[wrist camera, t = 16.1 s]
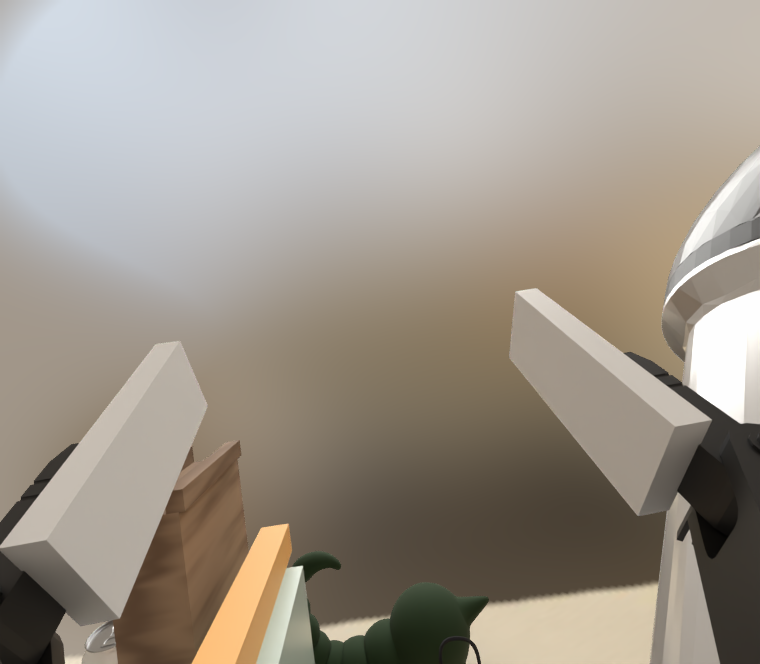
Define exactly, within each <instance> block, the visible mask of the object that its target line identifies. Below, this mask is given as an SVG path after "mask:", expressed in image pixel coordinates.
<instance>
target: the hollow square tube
mask: <svg viewBox="0 0 760 664" xmlns="http://www.w3.org/2000/svg"><path fill="white" fill-rule="evenodd" d="M291 552H292V548H291V539H290V531H289V524H283V525H277V526H270V527H264V528H261V530H260V532H259V534H258V536H257V537H256V539H255V542H254V543H253V545H252V547H251V549H250V551H249V553H248V555H247V557H246V559H245V561H244V563H243V565H242V567H241V569H240V570H239V572H238V574H237V576H236V578H235V580H234V582H233V584H232V586H231V588H230V590H229V592H228V594H227V596H226V598H225V600H224V602H223V603H222V605H221V607H220V609H219V611H218V613H217V615H216V617H215V619H214V621H213V623H212V625H211V627H210V629H209V631H208V633H207V635H206V637H205V638H204V640H203V642H202V644H201V646H200V648H199V650H198V652H197V654H196V656H195V658H194V660H193V662H192V664H256V662H257V659H258V656H259V652H260V649H261V646H262V643H263V640H264V637H265V634H266V630H267V627H268V624H269V621H270V618H271V615H272V611H273V608H274V605H275V602H276V599H277V596H278V593H279V589H280V586H281V583H282V580H283V577H284V574H285V571H286V567H287V564H288V561H289V558H290V555H291Z"/></svg>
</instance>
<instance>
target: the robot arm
mask: <svg viewBox="0 0 760 664" xmlns="http://www.w3.org/2000/svg"><path fill="white" fill-rule="evenodd" d="M662 331H663V335H664V338H665V340H666V341H667V344H668V346H669V347H670V348H671V349H672V351H673V352H674V353H675V354H676V355H677V356H678V357H679V358H680V359H681V360H682V361H683V362H685V363H684V371H683V380H682V382H680V381H679V380H678V379H676V378H675V377H674V376H672V375H670V376H669V374H668V372H666V371H665V370H664V369H662V368H661V367H659V366H658V365H657V364H655V363H654V362H652V361H651V360H648V359H646V358H643V357H641V356H639V355H636V354H634V353H632V352H627V353H622V352H621V351H619V350H618V349H617V348H615V347H614V346H613V345H611V344H610V343H609V342H607V341H606V340H604V339H603V338H602V337H601V336H599V335H598V334H597V333H595V332H594V331H593V330H591V329H590V328H589V327H587V326H586V325H585V324H583V323H582V322H581V321H579V320H578V319H577V318H575V317H574V316H573V315H571V314H570V313H569V312H567V311H566V310H565V309H563V308H562V307H561V306H559V305H558V304H557V303H555V302H554V301H553V300H551V299H550V298H549V297H547V296H546V295H545V294H543V293H542V292H541V291H539V290H538V289H537V288H536V289H530V290H522V291H516V292H515V301H514V312H513V322H512V332H511V343H510V353H509V358H510V359H511V361H512V362H513V363H514V364H515V365H516V367H517V368H518V369H519V370H520V372H521V373H522V374H523V375H524V377H525V378H526V379H527V380H528V381H529V383H530V384H531V385H532V386H533V388H534V389H535V390H536V391H537V393H538V394H539V395H540V396H541V397H542V399H543V400H544V401H545V402H546V404H547V405H548V406H549V407H550V408H551V410H552V411H553V412H554V413H555V415H556V416H557V417H558V418H559V420H560V421H561V422H562V423H563V424H564V426H565V427H566V428H567V429H568V431H569V432H570V433H571V434H572V436H573V437H574V438H575V439H576V440H577V442H578V443H579V444H580V445H581V446H582V448H583V449H584V450H585V451H586V453H587V454H588V455H589V456H590V458H591V459H592V460H593V461H594V463H595V464H596V465H597V466H598V467H599V469H600V470H601V471H602V472H603V474H604V475H605V476H606V477H607V479H608V480H609V481H610V482H611V484H612V485H613V486H614V487H615V488H616V490H617V491H618V492H619V493H620V494H621V496H622V497H623V498H624V499H625V501H626V502H627V503H628V504H629V506H630V507H631V508H632V509H633V511H634V512H635V513H636V514H637V515H638V516H641V515H647V514H652V513H657V512H662V511H667V517H666V526H665V534H664V542H663V551H662V559H661V568H660V576H659V585H658V594H657V602H656V611H655V619H654V628H653V636H652V645H651V653H650V662H649V664H760V146H759V147H758V148H757V149H756V150H755V151H754V152H753V153H752V154H751V155H750V156H749V157H748V158H747V159H746V160H745V161H744V162H743V163H742V164H740V166H739V167H738V168H737V169H736V170H735V171H734V172H733V173H732V174H731V175H730V177H729V178H728V179H727V180H726V181H725V182H724V183H723V185H722V186H721V187H720V188H719V189H718V190H717V192H716V193H715V194H714V195H713V197H712V198H711V199H710V201H709V202H708V204H707V205H706V206H705V208H704V209H703V211H702V212H701V213H700V215H699V216H698V217H697V219H696V220H695V221H694V223H693V225H692V227H691V229H690V230H689V232H688V234H687V236H686V238H685V240H684V241H683V243H682V245H681V247H680V249H679V251H678V253H677V255H676V257H675V260H674V263H673V266H672V269H671V272H670V274H669V277H668V283H667V288H666V294H665V300H664V307H663V313H662ZM207 406H208V405H207V403H206V401H205V398H204V396H203V394H202V392H201V389H200V387H199V384H198V382H197V380H196V377H195V375H194V372H193V370H192V368H191V365H190V363H189V361H188V359H187V356H186V354H185V352H184V349H183V347H182V345H181V342H180V341H175V342H169V343H162V344H156V345H155V346H154V347H153V348H152V350H151V351H150V352H149V354H148V355H147V356H146V358H145V359H144V360H143V362H142V363H141V364H140V365H139V367H138V368H137V369H136V370H135V372H134V373H133V374H132V376H131V377H130V378H129V379H128V381H127V382H126V383H125V385H124V386H123V387H122V388H121V390H120V391H119V392H118V394H117V395H116V396H115V398H114V399H113V400H112V401H111V403H110V404H109V405H108V407H107V408H106V409H105V411H104V412H103V413H102V415H101V416H100V417H99V418H98V420H97V421H96V422H95V424H94V425H93V426H92V427H91V429H90V430H89V431H88V433H87V434H86V435H85V436H84V438H83V439H82V440H81V442H80V443H77V444H71V445H70V446H69V447H68V448H66V449H65V450H64V451H63V452H61V453H60V454H59V455H58V456H56V457H55V458H54V459H53V460H51V461H50V462H49V463H48V465H47V466H46V467H45V468H44V469H43V471H42V472H41V473H40V474H39V475H38V477H37V478H36V479H35V480H34V485H30V487H29V488H28V489H27V490H26V491H25V493H24V494H23V495H22V496H21V500H20V501H18V502H16V504H15V505H14V506H13V507H12V508H11V510H10V511H9V512H8V513H7V515H6V516H5V517H4V518H3V520H2V521H1V522H0V664H65V659H64V648H63V643H62V641H61V638H60V636H59V635H58V634H57V633H55V631H56V629H57V627H58V625H59V624H60V622H61V620H62V618H63V616H64V614H65V612H66V613H67V614H68V615H69V616H70V617H71V618H72V619H73V620H75V621H76V622H77V623H78V624H79V625H80V626H85V625H89V624H95V623H100V622H105V621H110V620H115V619H120V617H121V614H122V612H123V610H124V607H125V605H126V602H127V600H128V597H129V595H130V593H131V590H132V588H133V585H134V583H135V581H136V578H137V576H138V573H139V571H140V568H141V566H142V564H143V561H144V559H145V556H146V554H147V552H148V549H149V547H150V544H151V542H152V539H153V537H154V535H155V532H156V530H157V527H158V525H159V522H160V520H161V518H162V515H163V513H164V510H165V508H166V506H167V503H168V501H169V498H170V496H171V493H172V491H173V489H174V486H175V484H176V481H177V479H178V477H179V474H180V472H181V469H182V467H183V464H184V462H185V460H186V457H187V455H188V452H189V450H190V448H191V445H192V443H193V440H194V438H195V435H196V433H197V431H198V428H199V425H200V423H201V421H202V418H203V416H204V414H205V411H206V409H207Z"/></svg>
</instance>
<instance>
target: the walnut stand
mask: <svg viewBox="0 0 760 664" xmlns="http://www.w3.org/2000/svg"><path fill="white" fill-rule="evenodd" d="M240 456H241V448H240V441H239V440H237V441H229V442H226V443H225V444H223V445H222V446H221V447H220V448H218V449H217V450H216V451H214V453H212V454H211V455H209V456H208V457H207V458H206V459H204V460H203V461H196V462H194V458H193V450H192V447H191V448H190V450H189V452H188V455H187V457H186V460H185V462H184V464H183V467H182V469H181V472H180V474H179V477H178V479H177V481H176V484H175V486H174V489H173V491H172V493H171V496H170V498H169V501H168V503H167V506H166V508H165V510H164V513H163V515H162V518H161V520H160V522H159V525H158V527H157V530H156V532H155V535H154V537H153V539H152V542H151V544H150V547H149V549H148V552H147V554H146V556H145V559H144V561H143V564H142V566H141V568H140V571H139V573H138V576H137V578H136V581H135V583H134V585H133V588H132V590H131V593H130V595H129V597H128V600H127V602H126V605H125V607H124V610H123V612H122V614H121V617H120V619H115V620H113V626H114V634H115V643H116V651H117V660H118V664H192V662H193V660H194V658H195V656H196V654H197V652H198V650H199V648H200V646H201V644H202V642H203V640H204V638H205V637H206V635H207V633H208V631H209V629H210V627H211V625H212V623H213V621H214V619H215V617H216V615H217V613H218V611H219V609H220V607H221V605H222V603H223V602H224V600H225V598H226V596H227V594H228V592H229V590H230V588H231V586H232V584H233V582H234V580H235V578H236V576H237V574H238V572H239V570H240V569H241V567H242V565H243V563H244V561H245V559H246V557H247V555H248V553H249V551H248V542H247V534H246V526H245V517H244V510H243V501H242V493H241V485H240V476H239V469H238V461H237V459H238V458H239V457H240Z"/></svg>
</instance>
